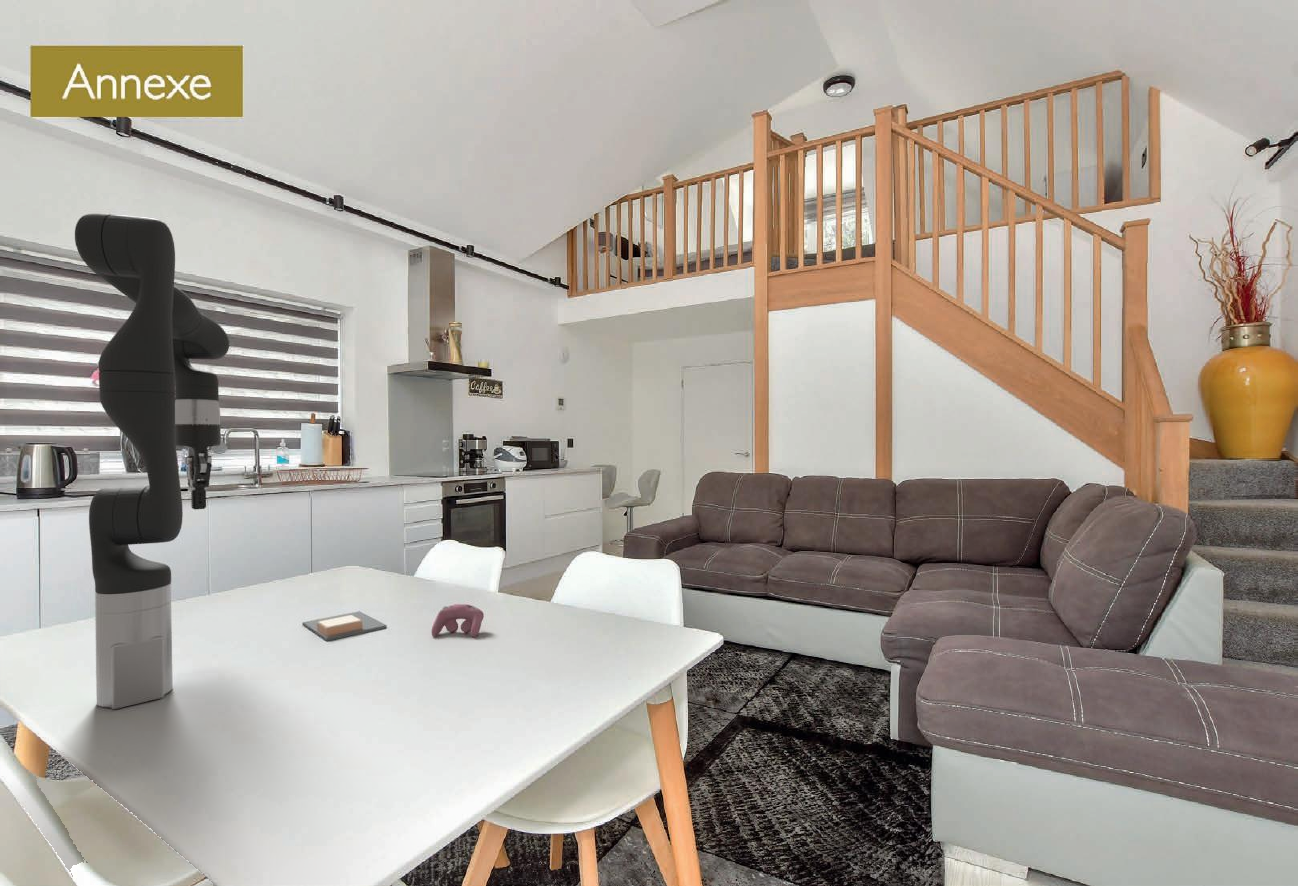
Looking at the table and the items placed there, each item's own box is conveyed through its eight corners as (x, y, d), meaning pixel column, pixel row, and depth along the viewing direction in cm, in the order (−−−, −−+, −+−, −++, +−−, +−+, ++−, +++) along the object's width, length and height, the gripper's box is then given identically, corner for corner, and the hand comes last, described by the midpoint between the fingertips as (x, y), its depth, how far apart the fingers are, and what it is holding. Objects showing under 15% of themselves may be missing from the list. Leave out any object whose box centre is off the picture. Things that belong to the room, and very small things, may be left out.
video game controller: (482, 640, 127) (487, 606, 130) (475, 636, 123) (480, 601, 126) (436, 639, 128) (442, 605, 131) (428, 636, 124) (434, 601, 127)
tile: (362, 628, 129) (326, 636, 124) (352, 623, 133) (317, 630, 128) (362, 620, 129) (326, 627, 124) (351, 614, 133) (316, 621, 128)
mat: (386, 627, 131) (386, 625, 131) (326, 641, 123) (326, 638, 123) (359, 613, 142) (359, 611, 142) (302, 625, 134) (302, 622, 134)
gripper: (226, 422, 121) (227, 509, 121) (213, 424, 130) (214, 505, 130) (179, 421, 115) (180, 513, 115) (169, 423, 125) (170, 508, 125)
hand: (198, 508), depth 123 cm, fingers closed
